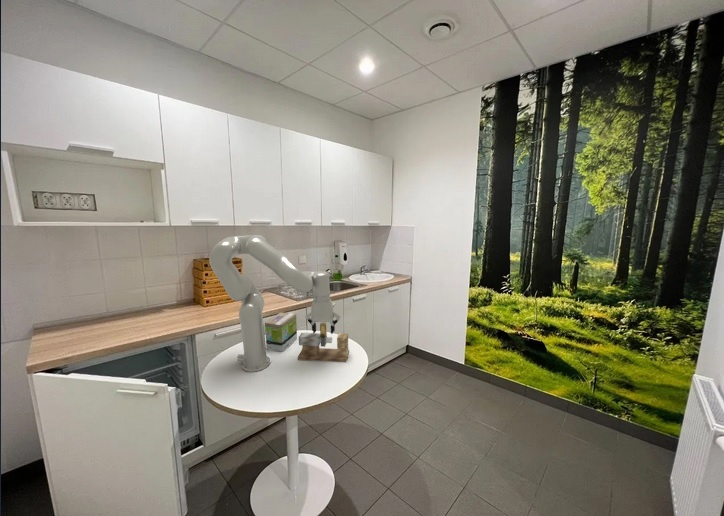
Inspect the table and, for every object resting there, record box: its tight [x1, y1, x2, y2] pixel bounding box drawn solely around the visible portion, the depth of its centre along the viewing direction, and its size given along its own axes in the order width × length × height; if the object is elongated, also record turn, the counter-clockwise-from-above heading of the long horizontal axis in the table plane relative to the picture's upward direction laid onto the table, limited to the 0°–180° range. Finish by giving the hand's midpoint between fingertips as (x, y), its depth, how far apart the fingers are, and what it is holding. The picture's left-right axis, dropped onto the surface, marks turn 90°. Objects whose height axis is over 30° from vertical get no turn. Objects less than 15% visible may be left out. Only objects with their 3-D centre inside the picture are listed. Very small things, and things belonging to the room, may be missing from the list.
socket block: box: [336, 332, 350, 357], centre depth 143 cm, size 4×5×10 cm
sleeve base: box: [297, 332, 350, 363], centre depth 144 cm, size 24×9×11 cm, turn 84°
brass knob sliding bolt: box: [319, 322, 333, 347], centre depth 143 cm, size 14×4×10 cm, turn 84°
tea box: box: [264, 311, 298, 353], centre depth 156 cm, size 15×10×15 cm
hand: (323, 332), depth 142 cm, fingers open, 8 cm apart
